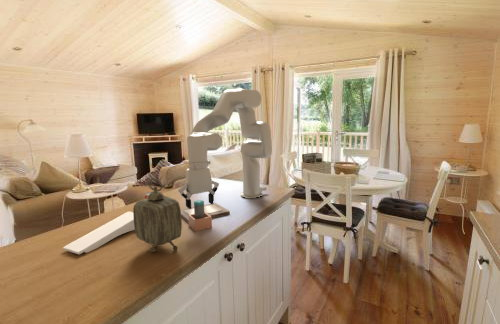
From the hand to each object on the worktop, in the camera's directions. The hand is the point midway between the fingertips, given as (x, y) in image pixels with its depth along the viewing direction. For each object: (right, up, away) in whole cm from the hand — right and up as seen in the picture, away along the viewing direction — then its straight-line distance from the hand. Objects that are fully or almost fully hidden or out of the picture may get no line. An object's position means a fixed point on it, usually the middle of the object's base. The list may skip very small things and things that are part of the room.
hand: (200, 205), depth 114 cm
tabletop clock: (-11, -12, -19) cm, 25 cm away
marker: (0, -8, +1) cm, 8 cm away
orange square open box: (0, -9, +1) cm, 9 cm away
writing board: (-1, -6, +15) cm, 17 cm away
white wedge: (-34, -11, -9) cm, 37 cm away
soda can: (-22, -8, +9) cm, 25 cm away
